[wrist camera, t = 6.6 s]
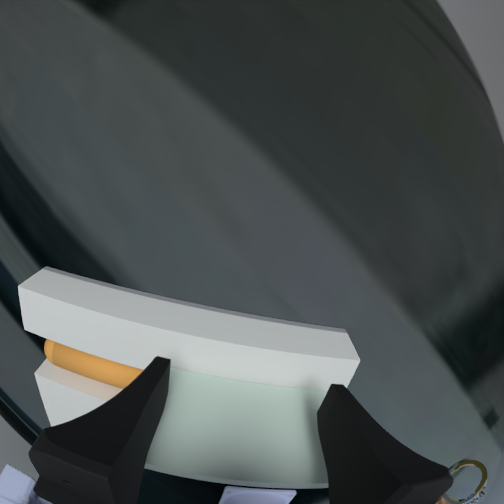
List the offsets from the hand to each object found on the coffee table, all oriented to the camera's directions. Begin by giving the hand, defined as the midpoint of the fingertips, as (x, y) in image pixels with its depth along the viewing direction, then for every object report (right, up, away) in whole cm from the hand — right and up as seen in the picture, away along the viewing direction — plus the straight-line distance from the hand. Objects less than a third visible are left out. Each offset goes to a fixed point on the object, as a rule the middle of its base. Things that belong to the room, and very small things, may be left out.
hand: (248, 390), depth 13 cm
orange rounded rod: (-9, -2, +6) cm, 11 cm away
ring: (+29, -24, +15) cm, 41 cm away
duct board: (-5, -4, +8) cm, 11 cm away
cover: (-1, -3, +2) cm, 4 cm away
